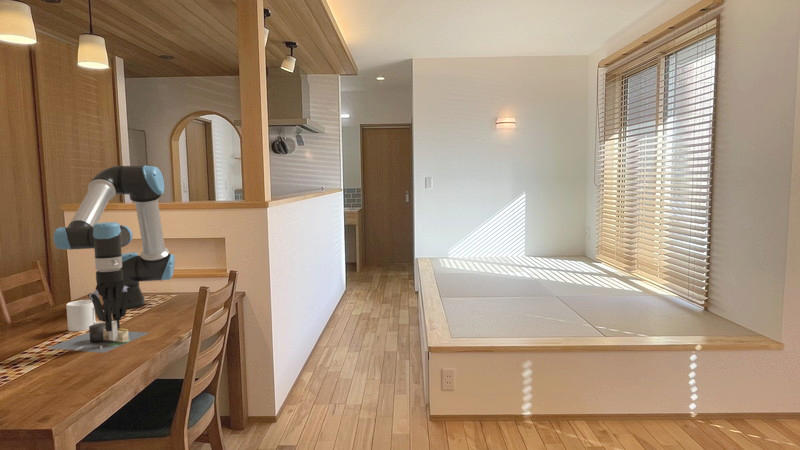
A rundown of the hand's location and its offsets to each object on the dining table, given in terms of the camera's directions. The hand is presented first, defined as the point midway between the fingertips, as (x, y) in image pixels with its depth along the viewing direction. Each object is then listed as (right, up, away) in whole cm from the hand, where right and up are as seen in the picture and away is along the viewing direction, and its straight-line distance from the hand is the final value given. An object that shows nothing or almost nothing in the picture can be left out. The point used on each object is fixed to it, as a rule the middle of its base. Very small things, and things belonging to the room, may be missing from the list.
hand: (113, 339), depth 157 cm
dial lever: (-3, -1, +3) cm, 5 cm away
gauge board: (-7, -3, +5) cm, 9 cm away
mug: (-21, -1, +19) cm, 29 cm away
